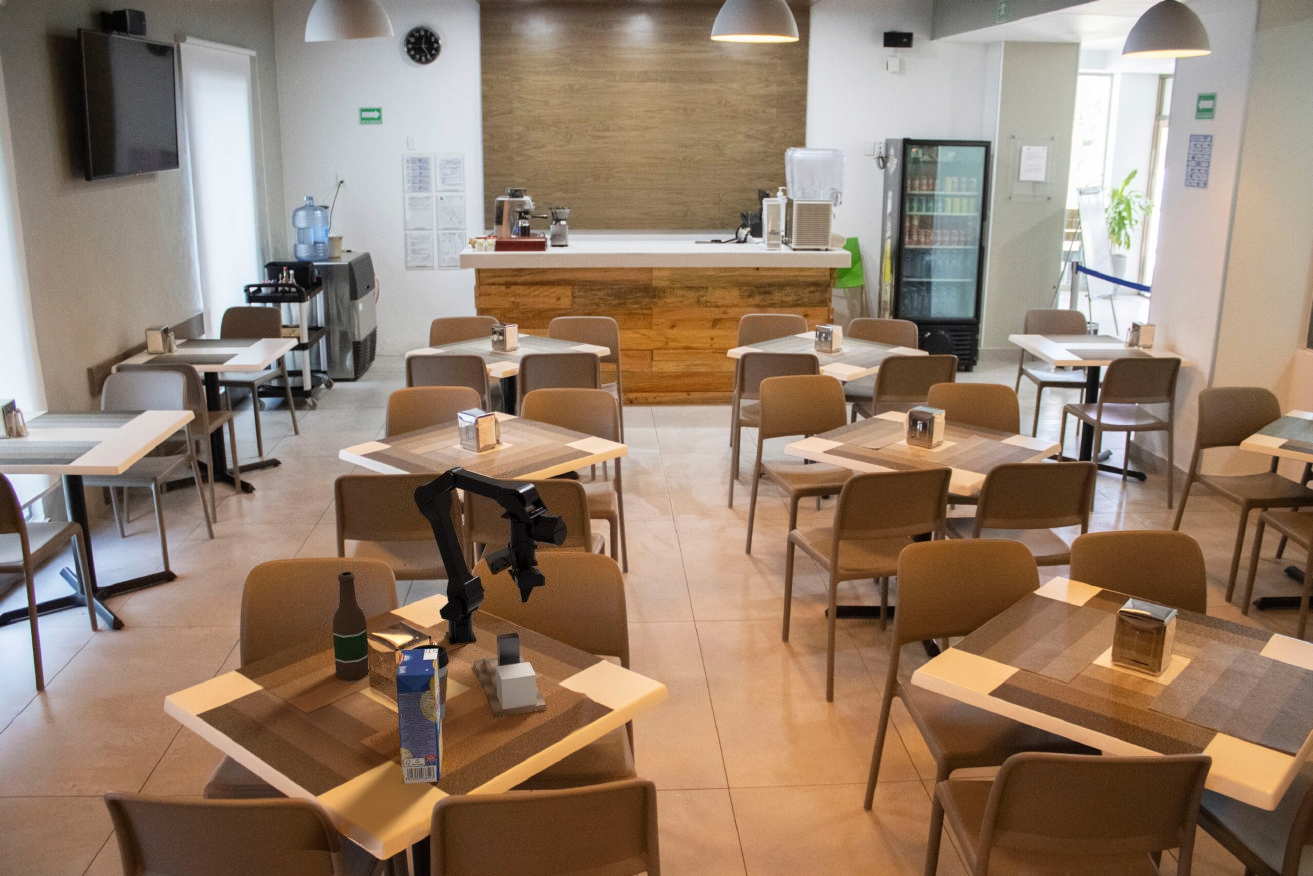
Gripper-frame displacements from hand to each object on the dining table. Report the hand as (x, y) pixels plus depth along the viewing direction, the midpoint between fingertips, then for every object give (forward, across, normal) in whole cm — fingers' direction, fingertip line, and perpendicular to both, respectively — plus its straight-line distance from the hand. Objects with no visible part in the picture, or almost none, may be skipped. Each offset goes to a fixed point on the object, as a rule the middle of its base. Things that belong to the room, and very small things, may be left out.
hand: (524, 602), depth 256 cm
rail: (+13, +15, -7) cm, 21 cm away
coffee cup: (+13, +23, -25) cm, 36 cm away
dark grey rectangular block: (+11, +20, -7) cm, 24 cm away
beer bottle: (+13, -2, -39) cm, 41 cm away
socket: (+12, +24, -7) cm, 27 cm away
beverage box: (+13, +42, -29) cm, 53 cm away
